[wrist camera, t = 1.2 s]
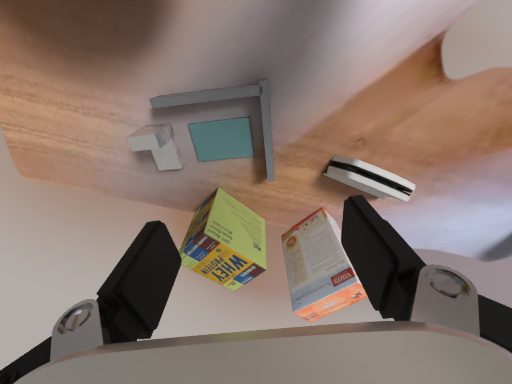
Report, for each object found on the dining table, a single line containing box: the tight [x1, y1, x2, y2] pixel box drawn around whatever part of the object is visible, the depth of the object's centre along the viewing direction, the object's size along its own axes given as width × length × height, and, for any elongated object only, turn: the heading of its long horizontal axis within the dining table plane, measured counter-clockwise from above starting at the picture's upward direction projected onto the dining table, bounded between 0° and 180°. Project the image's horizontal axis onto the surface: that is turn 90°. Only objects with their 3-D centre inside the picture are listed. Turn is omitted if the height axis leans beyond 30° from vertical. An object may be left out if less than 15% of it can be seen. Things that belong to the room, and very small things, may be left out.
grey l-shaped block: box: [126, 123, 185, 171], centre depth 39 cm, size 9×5×8 cm, turn 6°
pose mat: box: [188, 117, 254, 162], centre depth 42 cm, size 8×12×1 cm, turn 96°
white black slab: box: [323, 155, 416, 202], centre depth 42 cm, size 17×5×10 cm, turn 67°
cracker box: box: [282, 208, 368, 322], centre depth 46 cm, size 14×6×21 cm, turn 135°
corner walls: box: [150, 79, 275, 182], centre depth 40 cm, size 18×20×4 cm
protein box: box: [179, 188, 267, 291], centre depth 46 cm, size 10×15×16 cm
